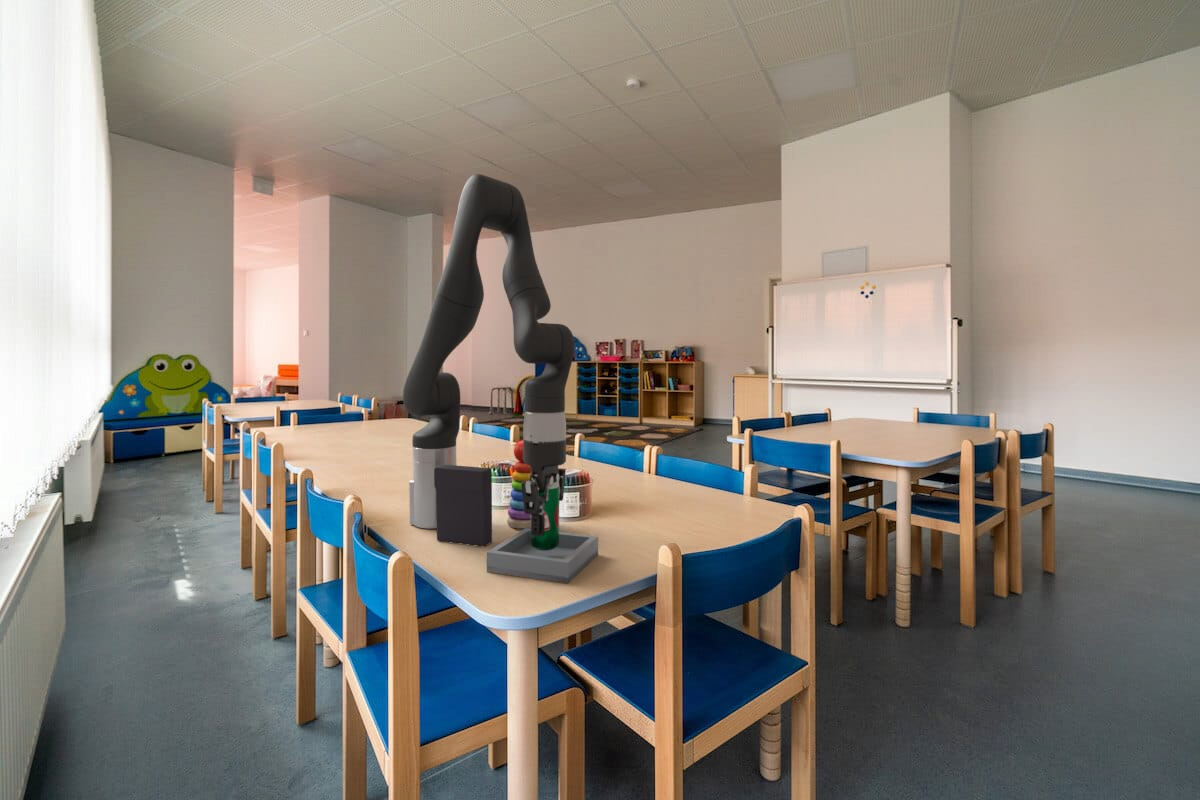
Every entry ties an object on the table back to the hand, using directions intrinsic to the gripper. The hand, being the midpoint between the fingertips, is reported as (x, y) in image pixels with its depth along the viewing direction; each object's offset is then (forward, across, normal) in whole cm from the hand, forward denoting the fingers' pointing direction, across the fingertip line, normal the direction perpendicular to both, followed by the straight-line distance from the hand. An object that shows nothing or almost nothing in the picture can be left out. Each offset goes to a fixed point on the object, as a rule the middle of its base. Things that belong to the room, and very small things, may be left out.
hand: (544, 530), depth 105 cm
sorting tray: (+6, 0, 0) cm, 6 cm away
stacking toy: (+6, -20, -14) cm, 26 cm away
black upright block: (+6, -6, -20) cm, 22 cm away
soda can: (+3, 0, 0) cm, 3 cm away
